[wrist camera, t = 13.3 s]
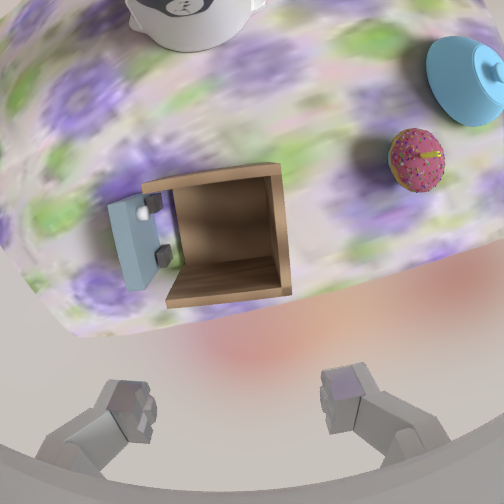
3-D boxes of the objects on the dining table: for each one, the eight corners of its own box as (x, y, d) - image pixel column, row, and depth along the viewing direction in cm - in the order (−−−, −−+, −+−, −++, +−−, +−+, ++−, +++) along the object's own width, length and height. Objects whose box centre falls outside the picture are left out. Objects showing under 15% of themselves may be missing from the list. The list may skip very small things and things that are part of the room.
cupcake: (366, 170, 37) (413, 178, 25) (388, 118, 35) (438, 108, 23) (412, 198, 38) (463, 215, 27) (432, 148, 36) (485, 151, 24)
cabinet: (123, 185, 36) (83, 196, 26) (269, 162, 36) (280, 163, 26) (141, 275, 40) (113, 312, 30) (279, 259, 40) (292, 295, 30)
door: (171, 261, 40) (154, 289, 31) (149, 264, 40) (127, 291, 31) (158, 189, 37) (135, 199, 28) (135, 194, 37) (107, 205, 28)
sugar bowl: (404, 75, 33) (450, 57, 22) (440, 26, 29) (481, 6, 18) (464, 145, 36) (514, 149, 25) (493, 91, 32) (537, 86, 21)
